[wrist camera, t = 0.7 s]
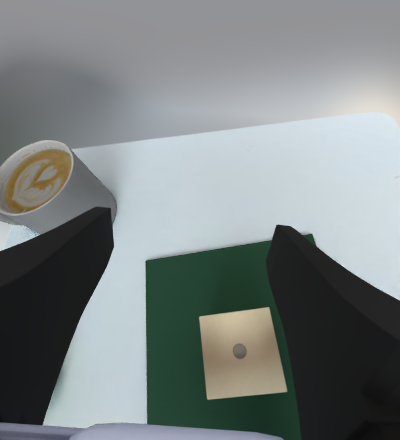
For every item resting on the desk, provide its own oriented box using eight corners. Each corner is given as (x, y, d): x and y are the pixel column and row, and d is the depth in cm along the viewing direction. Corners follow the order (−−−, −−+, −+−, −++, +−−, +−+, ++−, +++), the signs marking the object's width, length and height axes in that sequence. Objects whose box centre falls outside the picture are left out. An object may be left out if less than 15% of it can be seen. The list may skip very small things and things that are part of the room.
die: (280, 382, 24) (288, 392, 19) (216, 388, 25) (206, 400, 20) (266, 314, 27) (269, 306, 22) (209, 321, 28) (198, 315, 22)
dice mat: (390, 475, 21) (392, 477, 20) (149, 489, 23) (147, 492, 23) (311, 234, 30) (312, 233, 30) (146, 261, 33) (145, 260, 32)
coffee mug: (120, 183, 39) (81, 134, 30) (111, 246, 34) (62, 211, 26) (40, 192, 41) (-19, 149, 32) (22, 252, 37) (-52, 222, 28)
